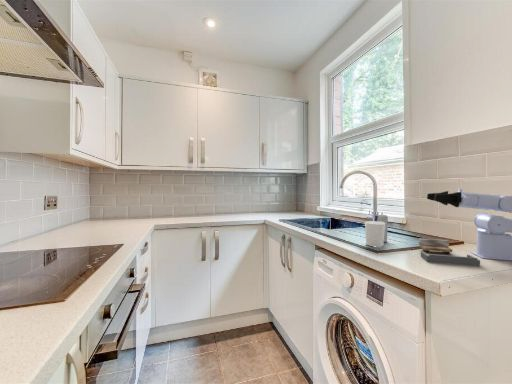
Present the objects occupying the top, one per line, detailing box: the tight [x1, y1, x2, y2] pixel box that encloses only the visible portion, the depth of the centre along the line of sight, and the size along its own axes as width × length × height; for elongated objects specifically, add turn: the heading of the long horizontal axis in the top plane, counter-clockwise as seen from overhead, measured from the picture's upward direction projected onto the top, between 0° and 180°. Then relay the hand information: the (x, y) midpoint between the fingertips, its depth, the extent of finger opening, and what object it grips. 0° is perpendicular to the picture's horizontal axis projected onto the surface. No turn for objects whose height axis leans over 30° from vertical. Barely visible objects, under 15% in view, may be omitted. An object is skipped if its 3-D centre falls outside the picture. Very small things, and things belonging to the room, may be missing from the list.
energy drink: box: [374, 214, 389, 243], centre depth 113 cm, size 5×5×12 cm
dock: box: [418, 250, 481, 267], centre depth 87 cm, size 15×11×3 cm
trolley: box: [418, 238, 453, 255], centre depth 95 cm, size 10×5×4 cm, turn 73°
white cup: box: [364, 220, 386, 248], centre depth 105 cm, size 8×8×10 cm
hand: (431, 196), depth 95 cm, fingers open, 7 cm apart
